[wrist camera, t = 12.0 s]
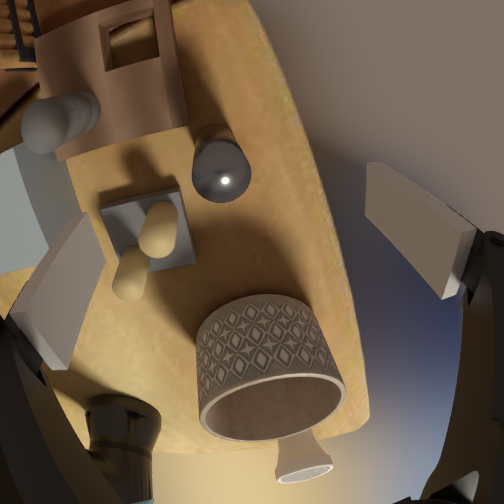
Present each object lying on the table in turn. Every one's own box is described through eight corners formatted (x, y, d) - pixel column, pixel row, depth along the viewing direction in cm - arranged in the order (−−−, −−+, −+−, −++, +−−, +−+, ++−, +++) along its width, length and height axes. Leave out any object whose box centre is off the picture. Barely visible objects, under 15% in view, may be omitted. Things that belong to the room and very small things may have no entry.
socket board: (70, 153, 24) (18, 191, 16) (48, 41, 17) (-13, 35, 9) (189, 121, 25) (181, 142, 16) (170, 0, 18) (154, -40, 10)
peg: (199, 164, 27) (197, 207, 19) (192, 128, 25) (186, 152, 17) (237, 158, 27) (254, 197, 19) (232, 121, 25) (247, 142, 17)
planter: (170, 326, 37) (166, 412, 27) (282, 263, 34) (316, 349, 24) (238, 381, 46) (249, 450, 35) (330, 336, 43) (361, 406, 32)
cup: (283, 431, 60) (297, 484, 48) (252, 421, 55) (264, 482, 43) (324, 410, 57) (343, 466, 46) (297, 398, 52) (316, 463, 40)
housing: (17, 237, 27) (-15, 277, 20) (-11, 159, 22) (-55, 186, 15) (83, 218, 28) (55, 261, 21) (56, 127, 22) (12, 147, 15)
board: (127, 268, 32) (116, 308, 26) (104, 203, 27) (83, 235, 22) (196, 255, 32) (196, 295, 27) (179, 186, 28) (174, 214, 22)
